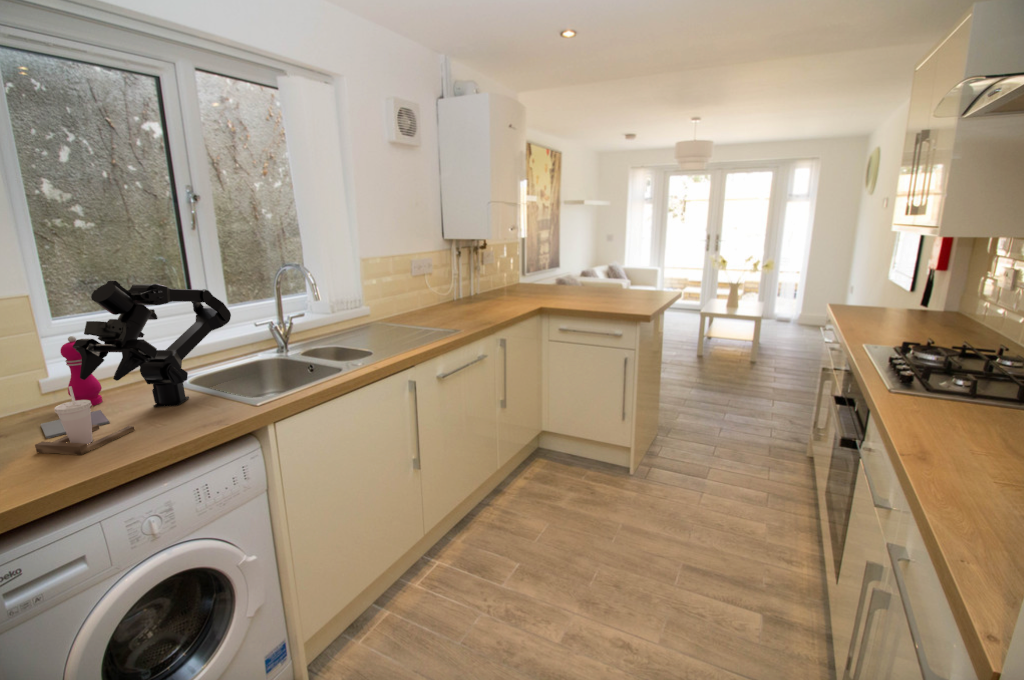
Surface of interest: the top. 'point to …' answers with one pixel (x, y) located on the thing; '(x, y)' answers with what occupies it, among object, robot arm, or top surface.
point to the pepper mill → (80, 387)
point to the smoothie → (76, 419)
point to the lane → (78, 448)
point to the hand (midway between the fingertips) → (98, 379)
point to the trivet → (57, 428)
